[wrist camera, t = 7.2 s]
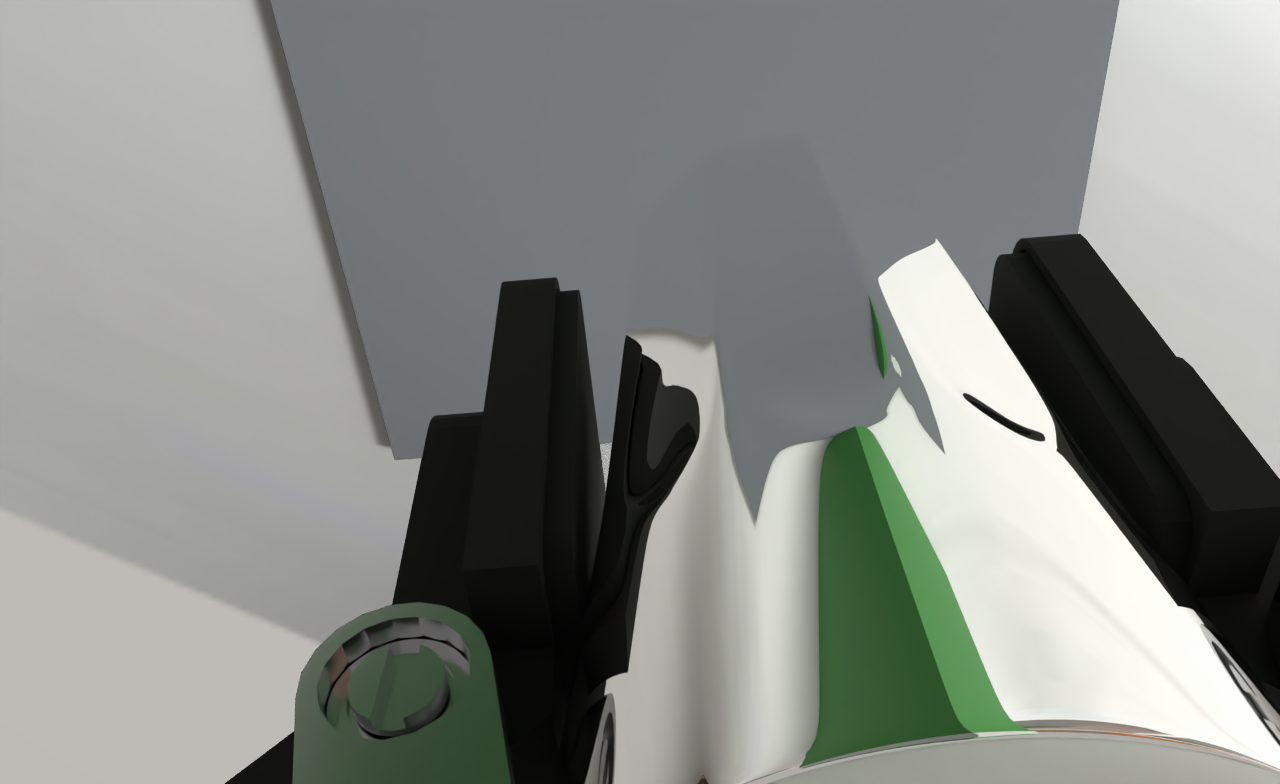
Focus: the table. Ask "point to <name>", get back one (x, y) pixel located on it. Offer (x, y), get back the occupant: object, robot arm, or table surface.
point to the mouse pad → (653, 145)
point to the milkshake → (868, 525)
